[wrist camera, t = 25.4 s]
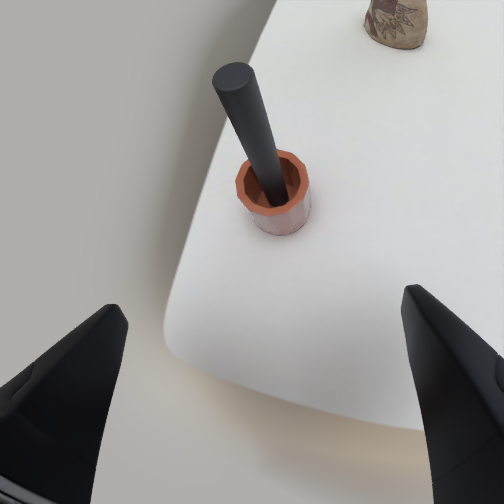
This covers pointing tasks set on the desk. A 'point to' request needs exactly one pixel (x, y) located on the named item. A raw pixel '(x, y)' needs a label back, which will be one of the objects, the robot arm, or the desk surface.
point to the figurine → (397, 22)
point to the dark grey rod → (252, 127)
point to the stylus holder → (280, 217)
